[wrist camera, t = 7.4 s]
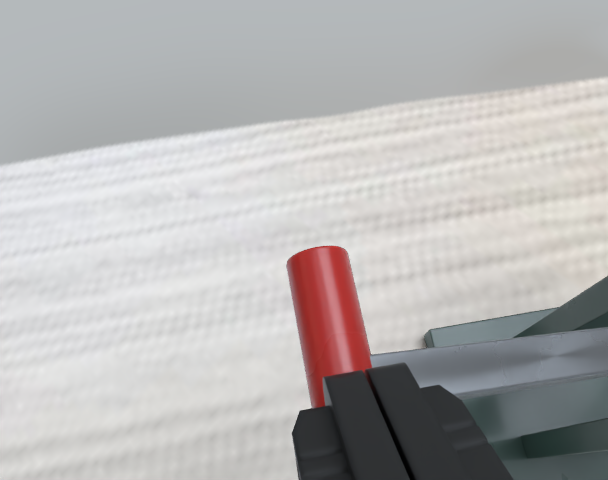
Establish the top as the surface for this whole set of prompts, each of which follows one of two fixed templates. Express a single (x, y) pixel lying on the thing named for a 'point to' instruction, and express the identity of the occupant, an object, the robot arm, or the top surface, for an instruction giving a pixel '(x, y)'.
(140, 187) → the top surface
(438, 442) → the robot arm
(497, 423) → the bracket
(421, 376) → the lever
